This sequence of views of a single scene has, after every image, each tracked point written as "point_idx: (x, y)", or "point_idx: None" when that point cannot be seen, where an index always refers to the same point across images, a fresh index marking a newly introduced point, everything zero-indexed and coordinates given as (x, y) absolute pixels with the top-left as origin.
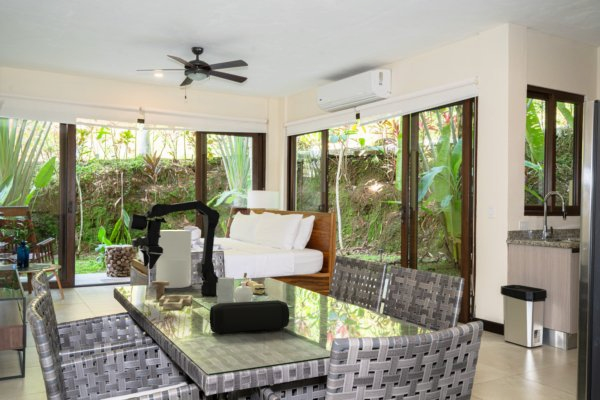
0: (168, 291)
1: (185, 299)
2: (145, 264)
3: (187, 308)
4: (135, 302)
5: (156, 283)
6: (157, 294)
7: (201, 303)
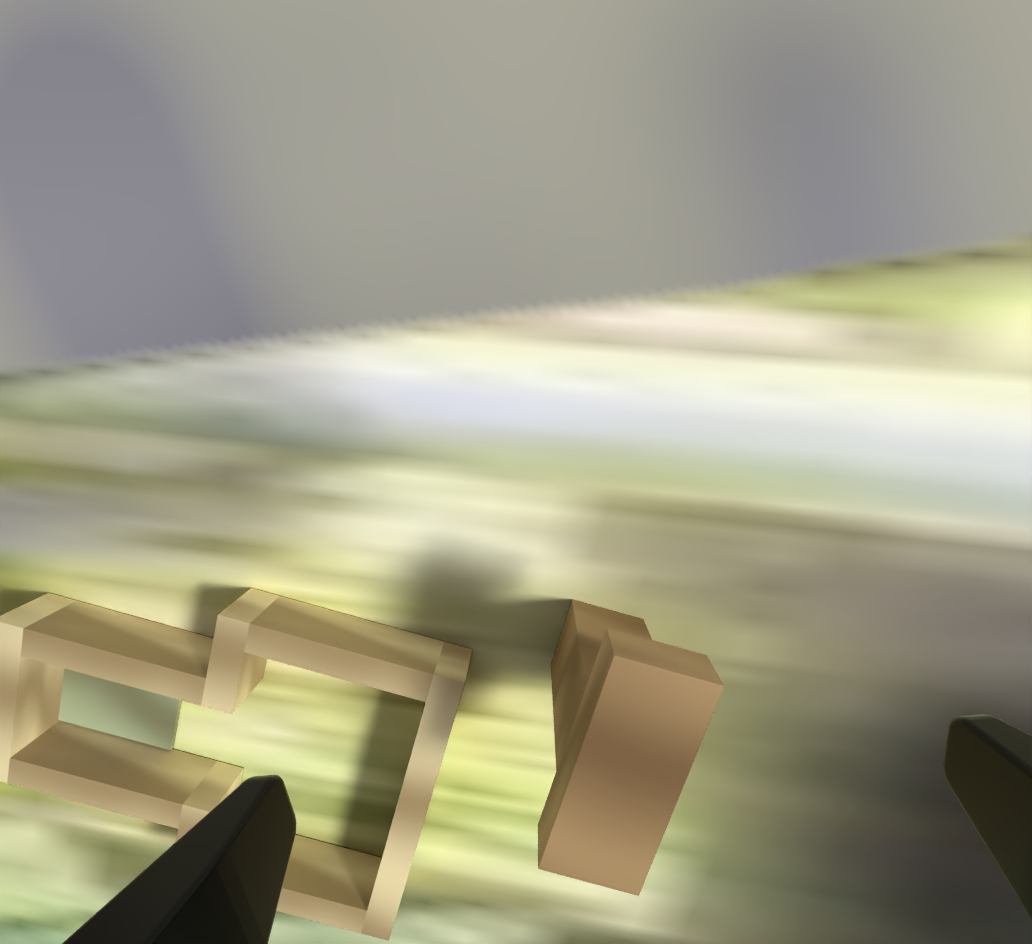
0: None
1: None
2: (1003, 794)
3: None
4: (454, 372)
5: (590, 704)
6: (571, 636)
7: None
